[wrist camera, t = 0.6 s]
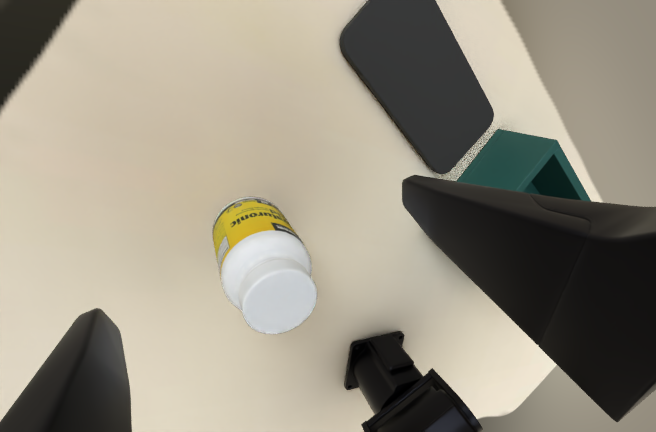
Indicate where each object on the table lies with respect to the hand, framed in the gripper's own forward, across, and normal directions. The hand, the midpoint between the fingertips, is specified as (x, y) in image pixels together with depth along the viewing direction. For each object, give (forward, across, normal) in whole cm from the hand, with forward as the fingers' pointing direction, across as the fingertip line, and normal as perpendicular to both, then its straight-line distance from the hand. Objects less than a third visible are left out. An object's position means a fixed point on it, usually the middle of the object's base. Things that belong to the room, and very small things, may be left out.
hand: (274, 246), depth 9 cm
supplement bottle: (+14, 0, +9) cm, 17 cm away
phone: (+14, -17, +3) cm, 22 cm away
